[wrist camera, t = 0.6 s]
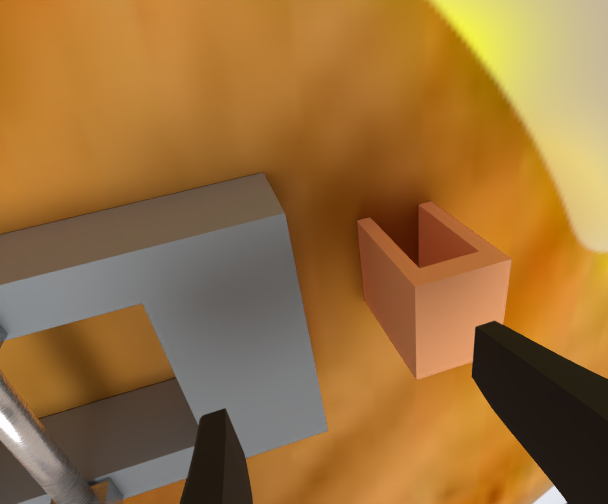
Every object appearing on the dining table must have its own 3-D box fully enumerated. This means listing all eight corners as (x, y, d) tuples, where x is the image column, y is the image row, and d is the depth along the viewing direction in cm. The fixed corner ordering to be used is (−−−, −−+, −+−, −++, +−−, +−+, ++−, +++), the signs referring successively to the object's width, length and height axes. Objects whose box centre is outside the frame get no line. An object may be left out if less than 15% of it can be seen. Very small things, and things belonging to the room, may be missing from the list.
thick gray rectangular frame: (305, 365, 24) (337, 456, 19) (-107, 493, 21) (-199, 640, 16) (263, 172, 18) (294, 230, 13) (-332, 313, 15) (-601, 463, 10)
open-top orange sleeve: (430, 281, 23) (499, 352, 18) (364, 300, 23) (416, 379, 17) (431, 201, 21) (511, 258, 15) (356, 220, 20) (415, 287, 15)
